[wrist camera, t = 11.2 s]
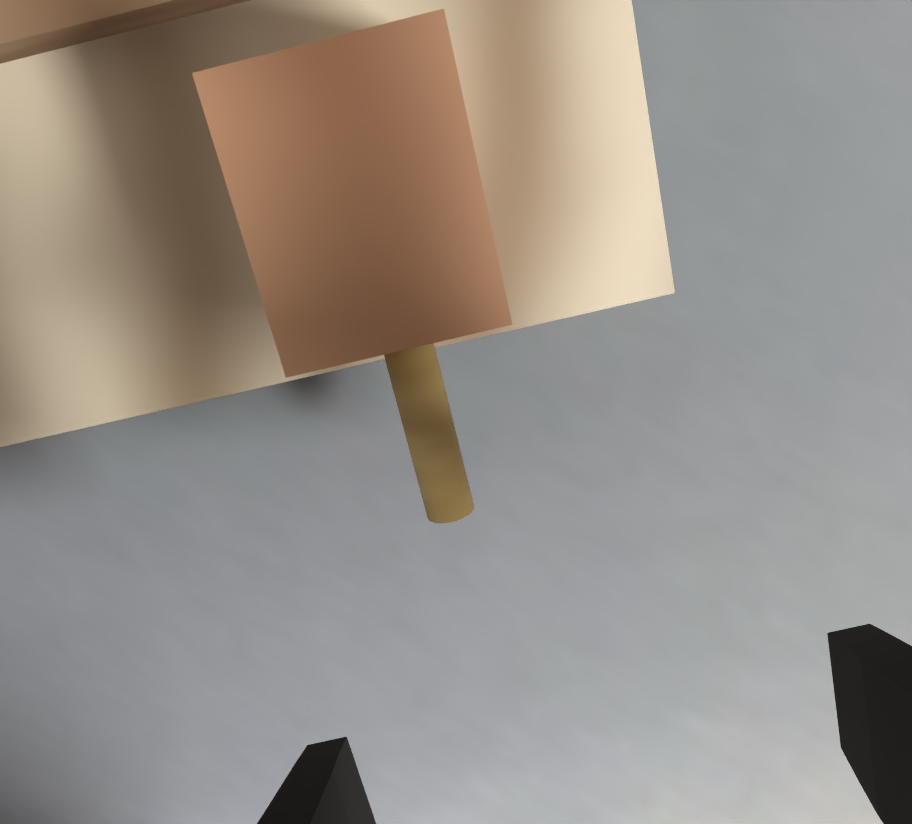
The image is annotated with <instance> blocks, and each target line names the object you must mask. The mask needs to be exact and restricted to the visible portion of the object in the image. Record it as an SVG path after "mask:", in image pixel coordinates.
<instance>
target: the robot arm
mask: <svg viewBox="0 0 912 824" xmlns="http://www.w3.org/2000/svg"><path fill="white" fill-rule="evenodd" d="M828 642H829V650H830V659H831V667H832V675H833V684H834V692H835V701H836V709H837V718H838V726H839V734H840V743H841V749H842V750H843V752H844V754H845V756H846V758H847V760H848V762H849V764H850V765H851V767H852V769H853V771H854V773H855V775H856V777H857V778H858V780H859V782H860V784H861V786H862V788H863V789H864V791H865V793H866V795H867V797H868V798H869V800H870V802H871V804H872V805H873V807H874V809H875V811H876V812H877V814H878V816H879V817H880V819H881V820H882V822H883V823H884V824H912V646H910V645H908V644H907V643H905V642H903V641H901V640H899V639H898V638H896V637H894V636H892V635H890V634H888V633H886V632H885V631H883V630H881V629H879V628H877V627H875V626H873V625H871V624H867V625H862V626H857V627H853V628H848V629H844V630H839V631H834V632H830V633H828ZM257 824H376V822H375V819H374V816H373V813H372V810H371V808H370V805H369V802H368V799H367V796H366V793H365V790H364V787H363V784H362V781H361V778H360V775H359V772H358V769H357V766H356V763H355V760H354V757H353V754H352V751H351V748H350V745H349V743H348V740H347V737H343V738H339V739H334V740H329V741H325V742H320V743H315V744H311V745H307V747H306V748H305V750H304V751H303V753H302V754H301V756H300V757H299V759H298V760H297V762H296V763H295V765H294V766H293V768H292V770H291V771H290V773H289V774H288V776H287V777H286V779H285V781H284V782H283V784H282V785H281V787H280V789H279V790H278V792H277V793H276V795H275V796H274V798H273V800H272V801H271V803H270V804H269V806H268V807H267V809H266V811H265V812H264V814H263V815H262V817H261V818H260V820H259V822H258V823H257Z"/></svg>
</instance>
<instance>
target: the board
mask: <svg viewBox="0 0 912 824" xmlns="http://www.w3.org/2000/svg"><path fill="white" fill-rule="evenodd" d="M440 9H444V11H445V16H446V20H447V25H448V30H449V34H450V39H451V44H452V48H453V53H454V57H455V62H456V67H457V71H458V76H459V80H460V85H461V90H462V94H463V99H464V103H465V108H466V113H467V117H468V122H469V127H470V131H471V136H472V140H473V145H474V150H475V154H476V159H477V163H478V168H479V173H480V177H481V182H482V186H483V191H484V196H485V200H486V205H487V209H488V214H489V219H490V223H491V228H492V233H493V237H494V242H495V246H496V251H497V256H498V260H499V265H500V269H501V274H502V279H503V283H504V288H505V292H506V297H507V302H508V306H509V311H510V315H511V320H512V325H509V326H505V327H500V328H496V329H492V330H488V331H483V332H479V333H475V334H471V335H466V336H462V337H458V338H454V339H449V340H445V341H441V342H437V343H434V347H435V348H436V347H440V346H445V345H449V344H454V343H458V342H462V341H467V340H471V339H475V338H480V337H484V336H489V335H493V334H497V333H502V332H506V331H510V330H515V329H519V328H524V327H528V326H532V325H537V324H541V323H545V322H550V321H554V320H559V319H563V318H567V317H572V316H576V315H580V314H585V313H589V312H594V311H598V310H602V309H607V308H611V307H615V306H620V305H624V304H629V303H633V302H637V301H642V300H646V299H650V298H655V297H659V296H663V295H668V294H672V293H675V291H674V284H673V277H672V271H671V264H670V257H669V250H668V244H667V237H666V230H665V223H664V217H663V210H662V203H661V196H660V190H659V183H658V176H657V169H656V163H655V156H654V149H653V142H652V136H651V129H650V122H649V115H648V109H647V102H646V95H645V89H644V82H643V75H642V68H641V62H640V55H639V48H638V41H637V35H636V28H635V21H634V14H633V8H632V1H631V0H0V447H3V446H7V445H12V444H16V443H21V442H25V441H29V440H34V439H38V438H42V437H47V436H51V435H56V434H60V433H64V432H69V431H73V430H77V429H82V428H86V427H91V426H95V425H99V424H104V423H108V422H112V421H117V420H121V419H126V418H130V417H134V416H139V415H143V414H147V413H152V412H156V411H161V410H165V409H169V408H174V407H178V406H182V405H187V404H191V403H196V402H200V401H204V400H209V399H213V398H217V397H222V396H226V395H231V394H235V393H239V392H244V391H248V390H252V389H257V388H261V387H265V386H270V385H274V384H279V383H283V382H287V381H292V380H296V379H300V378H305V377H309V376H314V375H318V374H322V373H327V372H331V371H335V370H340V369H344V368H349V367H353V366H357V365H362V364H366V363H370V362H375V361H379V360H384V359H385V357H384V355H381V356H377V357H373V358H368V359H364V360H360V361H356V362H351V363H347V364H343V365H338V366H334V367H330V368H326V369H321V370H317V371H313V372H309V373H304V374H300V375H296V376H292V377H287V378H286V377H285V373H284V370H283V367H282V364H281V360H280V357H279V354H278V351H277V347H276V344H275V341H274V338H273V335H272V331H271V328H270V325H269V322H268V318H267V315H266V312H265V309H264V305H263V302H262V299H261V296H260V292H259V289H258V286H257V283H256V279H255V276H254V273H253V270H252V266H251V263H250V260H249V257H248V253H247V250H246V247H245V244H244V240H243V237H242V234H241V231H240V228H239V224H238V221H237V218H236V215H235V211H234V208H233V205H232V202H231V198H230V195H229V192H228V189H227V185H226V182H225V179H224V176H223V172H222V169H221V166H220V163H219V159H218V156H217V153H216V150H215V146H214V143H213V140H212V137H211V133H210V130H209V127H208V124H207V120H206V117H205V114H204V111H203V108H202V104H201V101H200V98H199V95H198V91H197V88H196V85H195V82H194V78H193V75H192V73H194V72H198V71H202V70H206V69H210V68H213V67H217V66H221V65H225V64H229V63H233V62H237V61H241V60H245V59H249V58H252V57H256V56H260V55H264V54H268V53H272V52H276V51H280V50H284V49H288V48H292V47H295V46H299V45H303V44H307V43H311V42H315V41H319V40H323V39H327V38H331V37H334V36H338V35H342V34H346V33H350V32H354V31H358V30H362V29H366V28H370V27H373V26H377V25H381V24H385V23H389V22H393V21H397V20H401V19H405V18H409V17H412V16H416V15H420V14H424V13H428V12H432V11H436V10H440Z"/></svg>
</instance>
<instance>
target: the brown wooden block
mask: <svg viewBox="0 0 912 824" xmlns="http://www.w3.org/2000/svg"><path fill="white" fill-rule="evenodd" d="M192 75H193V78H194V82H195V85H196V88H197V91H198V95H199V98H200V101H201V104H202V108H203V111H204V114H205V117H206V120H207V124H208V127H209V130H210V133H211V137H212V140H213V143H214V146H215V150H216V153H217V156H218V159H219V163H220V166H221V169H222V172H223V176H224V179H225V182H226V185H227V189H228V192H229V195H230V198H231V202H232V205H233V208H234V211H235V215H236V218H237V221H238V224H239V228H240V231H241V234H242V237H243V240H244V244H245V247H246V250H247V253H248V257H249V260H250V263H251V266H252V270H253V273H254V276H255V279H256V283H257V286H258V289H259V292H260V296H261V299H262V302H263V305H264V309H265V312H266V315H267V318H268V322H269V325H270V328H271V331H272V335H273V338H274V341H275V344H276V347H277V351H278V354H279V357H280V360H281V364H282V367H283V370H284V373H285V377H286V378H287V377H292V376H296V375H300V374H304V373H309V372H313V371H317V370H321V369H326V368H330V367H334V366H338V365H343V364H347V363H351V362H356V361H360V360H364V359H368V358H373V357H377V356H381V355H384V357H385V361H386V364H387V368H388V372H389V375H390V379H391V383H392V387H393V390H394V394H395V398H396V401H397V405H398V409H399V413H400V416H401V420H402V424H403V428H404V431H405V435H406V439H407V442H408V446H409V450H410V454H411V457H412V461H413V465H414V469H415V472H416V476H417V480H418V483H419V487H420V491H421V495H422V498H423V502H424V506H425V510H426V513H427V517H428V520H429V521H431V522H434V523H448V522H453V521H456V520H459V519H462V518H464V517H466V516H467V515H469V514H470V513H471V512H472V511H473V509H474V504H473V500H472V496H471V492H470V488H469V484H468V480H467V476H466V472H465V468H464V464H463V460H462V456H461V451H460V447H459V443H458V439H457V435H456V431H455V427H454V423H453V419H452V415H451V411H450V407H449V403H448V399H447V395H446V391H445V387H444V383H443V379H442V375H441V371H440V367H439V363H438V359H437V355H436V351H435V347H434V343H437V342H441V341H445V340H449V339H454V338H458V337H462V336H466V335H471V334H475V333H479V332H483V331H488V330H492V329H496V328H500V327H505V326H509V325H512V320H511V315H510V311H509V306H508V302H507V297H506V292H505V288H504V283H503V279H502V274H501V269H500V265H499V260H498V256H497V251H496V246H495V242H494V237H493V233H492V228H491V223H490V219H489V214H488V209H487V205H486V200H485V196H484V191H483V186H482V182H481V177H480V173H479V168H478V163H477V159H476V154H475V150H474V145H473V140H472V136H471V131H470V127H469V122H468V117H467V113H466V108H465V103H464V99H463V94H462V90H461V85H460V80H459V76H458V71H457V67H456V62H455V57H454V53H453V48H452V44H451V39H450V34H449V30H448V25H447V20H446V16H445V11H444V9H440V10H436V11H432V12H428V13H424V14H420V15H416V16H412V17H409V18H405V19H401V20H397V21H393V22H389V23H385V24H381V25H377V26H373V27H370V28H366V29H362V30H358V31H354V32H350V33H346V34H342V35H338V36H334V37H331V38H327V39H323V40H319V41H315V42H311V43H307V44H303V45H299V46H295V47H292V48H288V49H284V50H280V51H276V52H272V53H268V54H264V55H260V56H256V57H252V58H249V59H245V60H241V61H237V62H233V63H229V64H225V65H221V66H217V67H213V68H210V69H206V70H202V71H198V72H194V73H192Z"/></svg>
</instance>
